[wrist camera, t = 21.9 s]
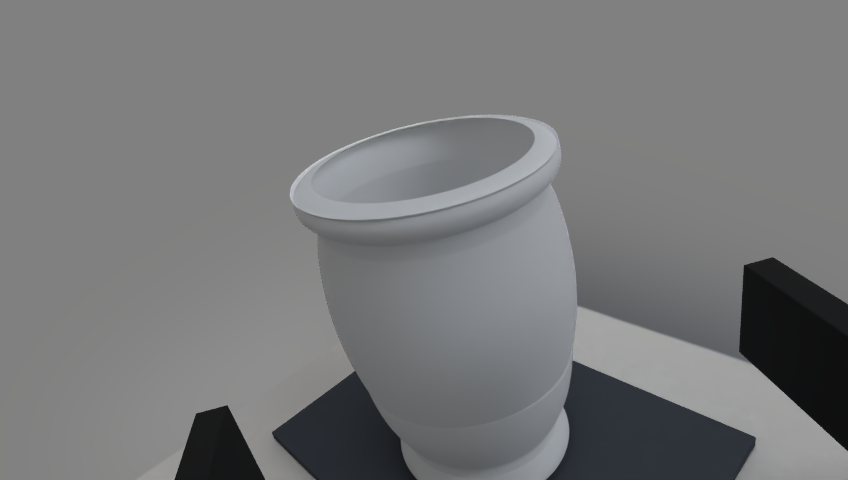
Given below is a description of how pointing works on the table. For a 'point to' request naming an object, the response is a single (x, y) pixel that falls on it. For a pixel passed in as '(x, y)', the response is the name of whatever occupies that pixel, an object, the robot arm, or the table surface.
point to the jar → (452, 289)
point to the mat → (586, 451)
